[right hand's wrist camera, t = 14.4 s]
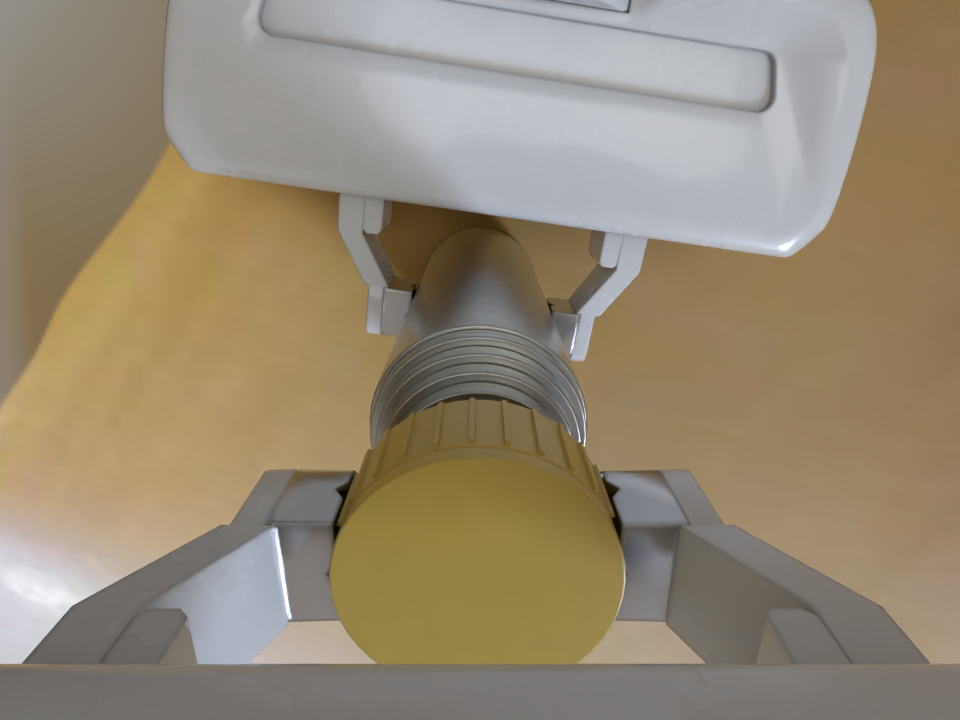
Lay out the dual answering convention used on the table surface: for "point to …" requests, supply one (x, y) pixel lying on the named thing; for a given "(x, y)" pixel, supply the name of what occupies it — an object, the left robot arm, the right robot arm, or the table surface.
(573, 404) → the bottle
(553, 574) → the cap
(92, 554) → the table surface
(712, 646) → the right robot arm
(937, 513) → the table surface
